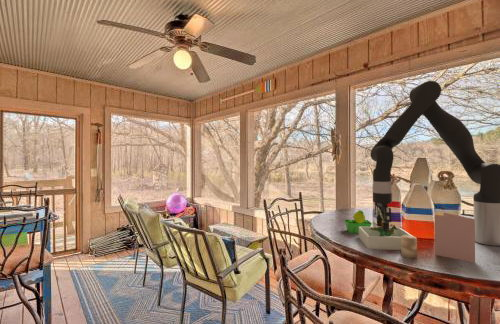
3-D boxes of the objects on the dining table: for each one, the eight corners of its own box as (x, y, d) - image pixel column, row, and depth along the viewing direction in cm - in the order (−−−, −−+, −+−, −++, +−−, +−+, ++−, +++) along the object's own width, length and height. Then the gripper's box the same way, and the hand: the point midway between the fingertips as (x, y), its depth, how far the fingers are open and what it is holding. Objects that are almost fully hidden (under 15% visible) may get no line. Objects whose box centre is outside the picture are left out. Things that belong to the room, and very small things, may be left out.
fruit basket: (367, 229, 134) (366, 207, 134) (373, 234, 125) (373, 211, 125) (344, 229, 135) (343, 207, 135) (348, 234, 126) (348, 211, 126)
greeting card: (477, 262, 90) (476, 218, 90) (459, 264, 89) (459, 220, 89) (446, 250, 101) (445, 212, 101) (430, 252, 100) (429, 213, 100)
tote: (400, 238, 118) (399, 227, 118) (415, 250, 103) (415, 237, 103) (358, 237, 121) (358, 226, 121) (368, 248, 106) (367, 236, 106)
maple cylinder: (413, 253, 99) (413, 235, 99) (419, 258, 94) (419, 239, 94) (399, 253, 100) (398, 235, 100) (404, 258, 95) (404, 239, 95)
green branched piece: (399, 240, 112) (398, 221, 112) (370, 240, 113) (369, 222, 113) (395, 238, 115) (395, 220, 115) (367, 238, 116) (367, 220, 116)
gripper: (397, 193, 106) (398, 233, 107) (385, 189, 120) (386, 224, 121) (377, 193, 108) (378, 233, 108) (368, 189, 122) (369, 224, 122)
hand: (382, 228), depth 114 cm, fingers open, 8 cm apart
